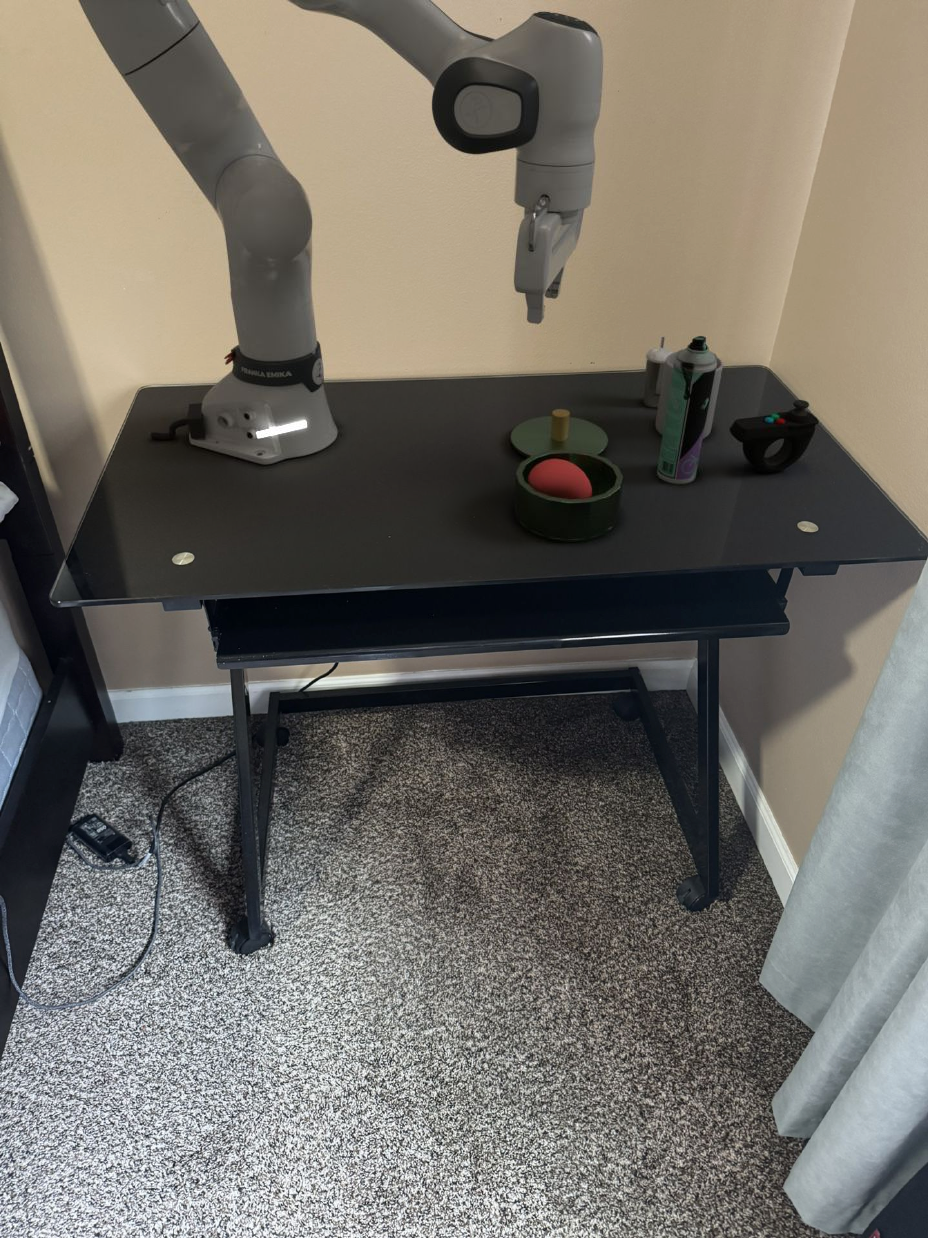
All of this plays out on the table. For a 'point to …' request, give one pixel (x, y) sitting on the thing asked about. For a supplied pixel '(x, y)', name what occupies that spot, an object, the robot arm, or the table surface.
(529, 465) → the tin
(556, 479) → the red bean shape
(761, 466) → the controller
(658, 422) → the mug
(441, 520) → the table surface
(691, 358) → the spray can
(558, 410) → the tin lid
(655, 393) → the milkshake
